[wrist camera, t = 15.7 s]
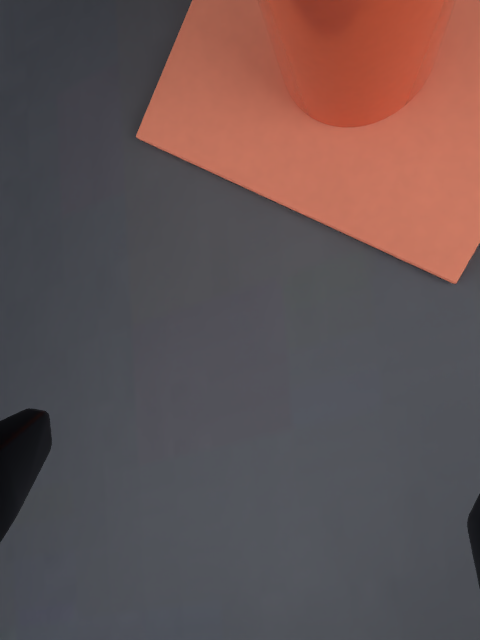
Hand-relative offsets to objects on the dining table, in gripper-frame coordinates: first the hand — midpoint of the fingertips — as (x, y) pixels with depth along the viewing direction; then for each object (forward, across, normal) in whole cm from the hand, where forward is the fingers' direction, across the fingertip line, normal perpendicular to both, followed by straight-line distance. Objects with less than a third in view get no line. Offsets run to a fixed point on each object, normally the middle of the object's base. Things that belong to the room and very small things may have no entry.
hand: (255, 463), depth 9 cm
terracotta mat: (+15, -2, -9) cm, 18 cm away
